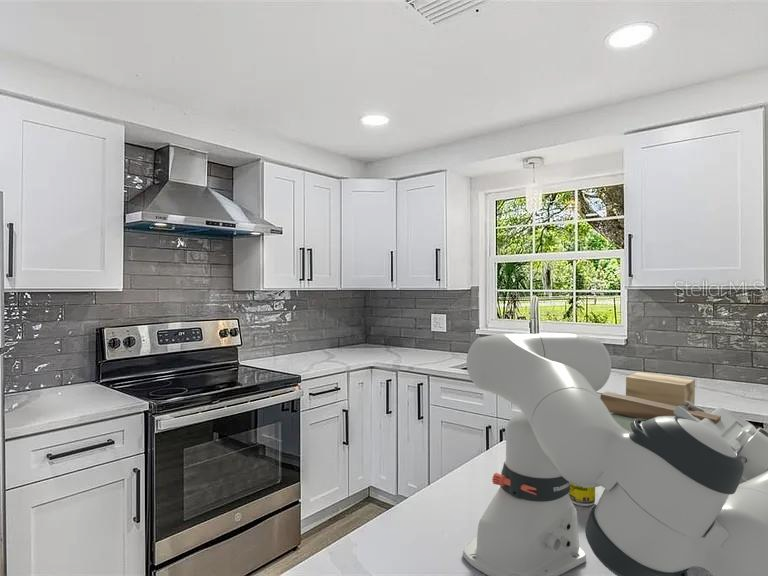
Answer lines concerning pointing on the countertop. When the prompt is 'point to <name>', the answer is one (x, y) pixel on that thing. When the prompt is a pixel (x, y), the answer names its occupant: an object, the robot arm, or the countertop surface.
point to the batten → (645, 408)
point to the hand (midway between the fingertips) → (679, 406)
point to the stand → (660, 388)
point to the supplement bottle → (582, 495)
